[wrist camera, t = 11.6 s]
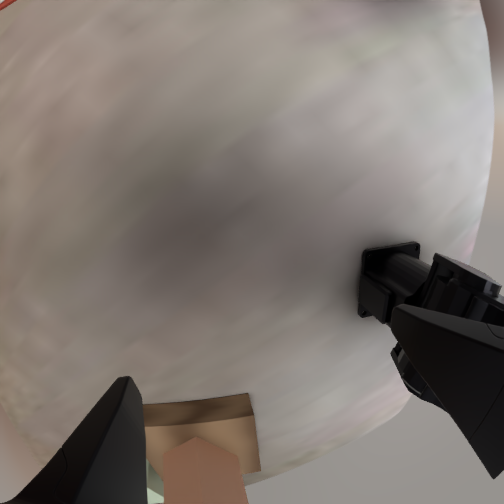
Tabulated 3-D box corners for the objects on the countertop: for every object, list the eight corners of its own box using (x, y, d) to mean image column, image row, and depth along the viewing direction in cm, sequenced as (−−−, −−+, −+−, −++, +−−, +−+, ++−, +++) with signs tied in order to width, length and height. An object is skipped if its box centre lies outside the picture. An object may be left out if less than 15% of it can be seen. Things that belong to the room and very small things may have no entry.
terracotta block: (196, 436, 23) (209, 547, 12) (237, 455, 25) (260, 550, 14) (163, 453, 23) (167, 553, 12) (204, 471, 25) (218, 560, 14)
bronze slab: (248, 393, 26) (254, 415, 23) (256, 452, 30) (261, 471, 27) (129, 405, 24) (126, 427, 21) (162, 462, 28) (162, 481, 25)
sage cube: (148, 455, 27) (147, 487, 23) (170, 472, 29) (171, 501, 24) (118, 460, 27) (115, 490, 22) (140, 476, 29) (139, 504, 24)
